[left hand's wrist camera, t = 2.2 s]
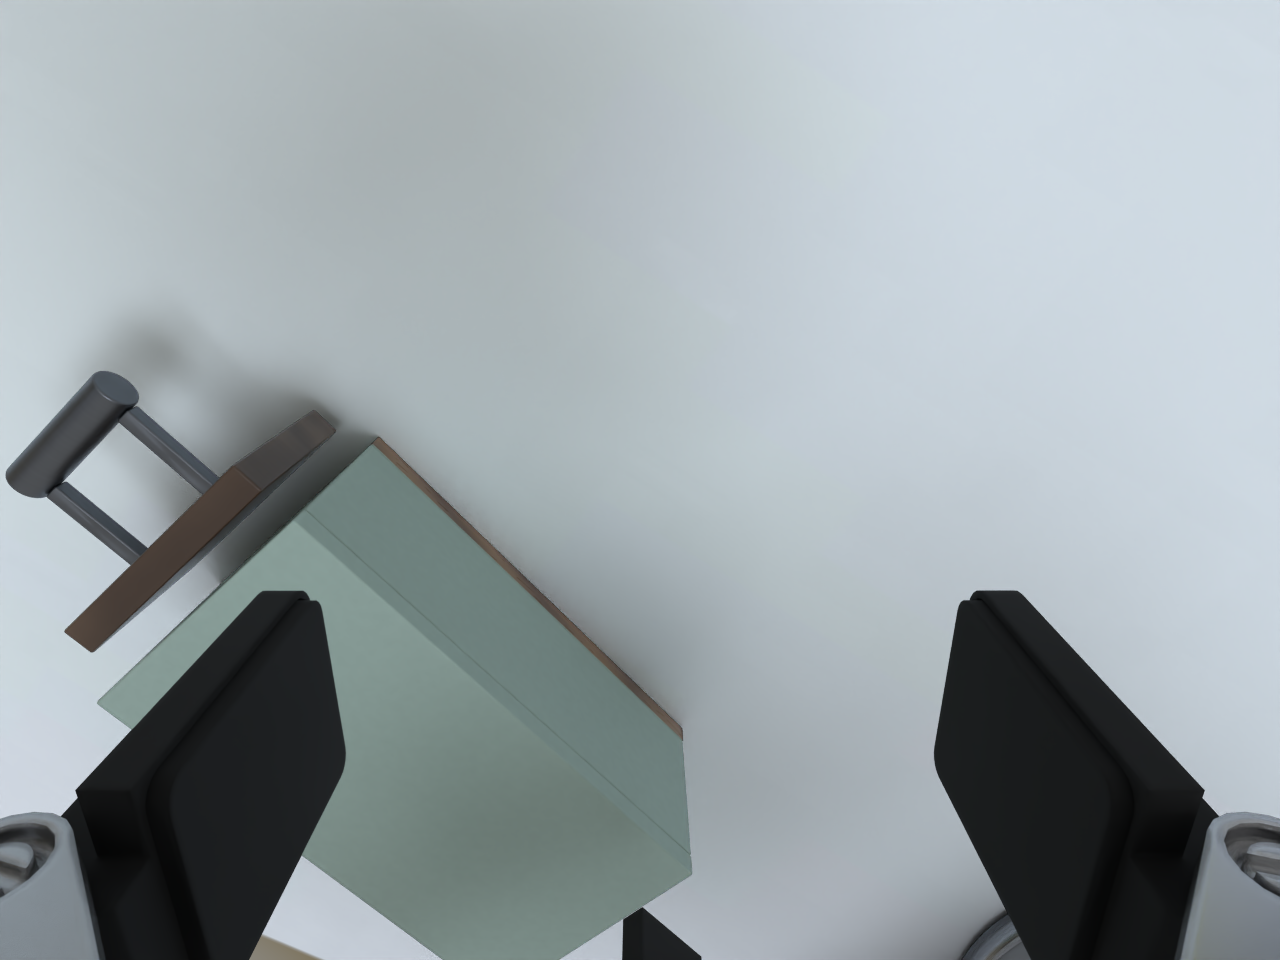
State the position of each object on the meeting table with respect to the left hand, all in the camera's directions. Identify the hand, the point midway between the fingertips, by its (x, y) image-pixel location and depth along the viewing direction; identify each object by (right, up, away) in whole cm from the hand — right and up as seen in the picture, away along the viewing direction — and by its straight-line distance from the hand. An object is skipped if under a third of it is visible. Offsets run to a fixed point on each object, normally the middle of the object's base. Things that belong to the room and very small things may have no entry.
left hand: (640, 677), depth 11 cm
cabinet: (-8, -6, +25) cm, 27 cm away
